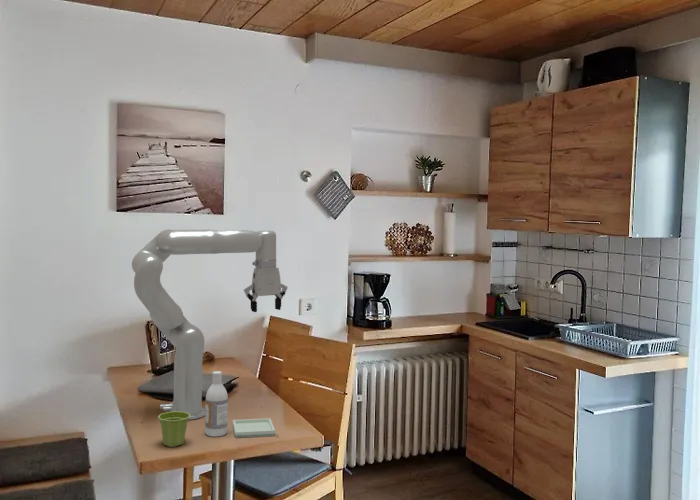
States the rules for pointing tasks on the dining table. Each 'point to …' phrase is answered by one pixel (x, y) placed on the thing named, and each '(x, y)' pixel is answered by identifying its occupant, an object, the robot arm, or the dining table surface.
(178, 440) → the plant pot
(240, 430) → the tray
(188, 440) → the dining table surface
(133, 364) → the dining table surface
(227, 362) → the dining table surface
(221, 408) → the bath foam
